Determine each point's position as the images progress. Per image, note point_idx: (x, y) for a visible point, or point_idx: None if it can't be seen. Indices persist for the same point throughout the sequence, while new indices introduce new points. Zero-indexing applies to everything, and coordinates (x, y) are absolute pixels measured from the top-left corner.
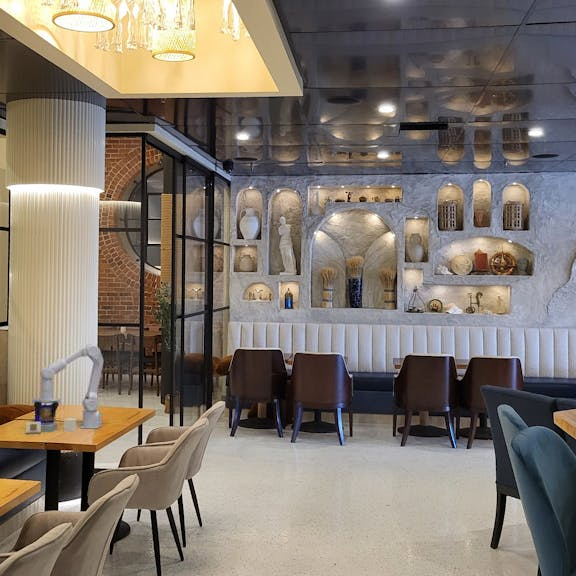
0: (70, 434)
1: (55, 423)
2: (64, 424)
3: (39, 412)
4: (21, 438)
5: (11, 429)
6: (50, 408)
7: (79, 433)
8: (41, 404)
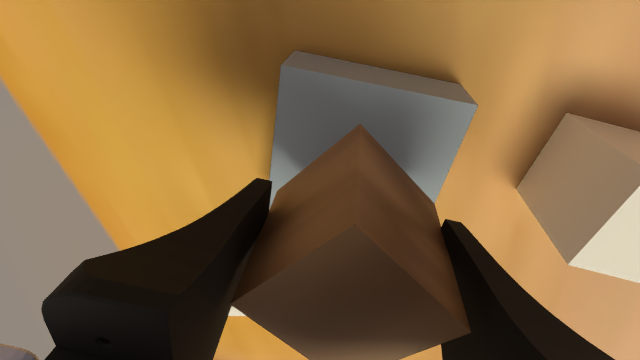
0: (543, 302)
1: (457, 121)
2: (547, 229)
3: (248, 250)
4: (256, 339)
5: (37, 53)
6: (420, 331)
7: (621, 285)
8: (197, 278)
